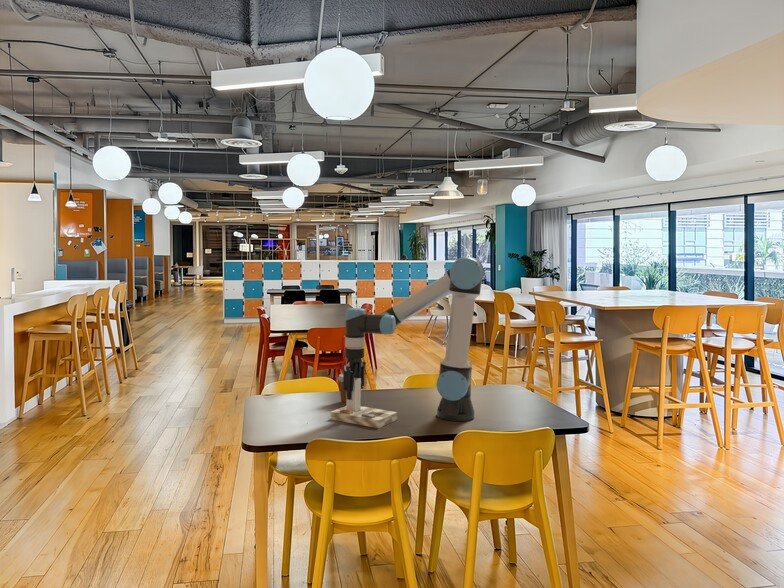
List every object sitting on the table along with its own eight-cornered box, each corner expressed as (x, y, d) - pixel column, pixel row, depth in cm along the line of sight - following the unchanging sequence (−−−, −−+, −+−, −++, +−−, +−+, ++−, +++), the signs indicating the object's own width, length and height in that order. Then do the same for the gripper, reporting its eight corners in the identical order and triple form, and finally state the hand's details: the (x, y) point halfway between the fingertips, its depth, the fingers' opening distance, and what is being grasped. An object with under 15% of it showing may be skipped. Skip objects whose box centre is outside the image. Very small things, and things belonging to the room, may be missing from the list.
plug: (360, 413, 246) (360, 378, 245) (354, 415, 242) (355, 380, 241) (351, 411, 248) (352, 377, 247) (346, 413, 244) (346, 378, 243)
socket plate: (397, 419, 243) (397, 410, 243) (378, 428, 231) (379, 418, 231) (350, 411, 254) (350, 402, 254) (330, 419, 242) (330, 409, 242)
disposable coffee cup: (362, 401, 272) (362, 374, 271) (355, 406, 263) (355, 378, 262) (342, 399, 275) (342, 372, 274) (334, 404, 266) (334, 376, 265)
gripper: (358, 344, 252) (357, 400, 254) (334, 349, 238) (333, 409, 239) (374, 345, 249) (372, 403, 250) (350, 351, 234) (349, 412, 235)
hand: (353, 406), depth 245 cm, fingers closed on plug, 4 cm apart
